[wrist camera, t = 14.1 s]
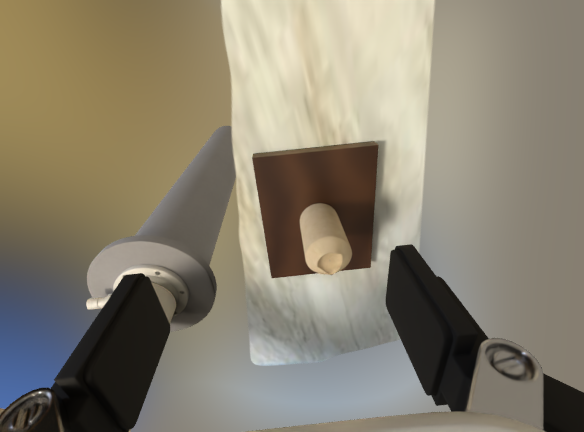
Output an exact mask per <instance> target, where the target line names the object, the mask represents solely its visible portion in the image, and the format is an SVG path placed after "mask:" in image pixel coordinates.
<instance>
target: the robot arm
mask: <svg viewBox="0 0 584 432" xmlns="http://www.w3.org/2000/svg"><path fill="white" fill-rule="evenodd" d="M188 299H189V291H188V288H187V286H186V284H185V282H184V281H183V280H182V279H181V278H180V277H179V276H178V275H177V274H176V273H174V272H172V271H170V270H168V269H166V268H163V267H160V266H156V265H137V266H133V267H130V268H127V269H126V270H124V271H123V272H122V273H121V274H120V275H119V276H118V277H117V279H116V280H115V283H114V285H113V293H112V294H108V295H107V296H106V297H94V298H89V299H88V301H87V304H86V305H87V308H88V309H99V308H102V310H101V311H100V313H99V314H98V316H97V317H96V319H95V320H94V322H93V323H92V325H91V326H90V328H89V329H88V330H87V332H86V333H85V335H84V336H83V338H82V339H81V341H80V342H79V344H78V345H77V347H76V348H75V350H74V351H73V353H72V354H71V356H70V357H69V359H68V360H67V362H66V363H65V365H64V366H63V368H62V369H61V371H60V372H59V373H58V375H57V377H56V378H55V379H54V380H55V383H54V384H53V386H52V387H51V389H50V388H39V389H36V390H32V391H30V392H28V393H26V394H25V395H22V396H21V397H20V398H18V399H17V400H15V401H14V402H13V403H11V404H10V405H9V406H8V407H7V408H6V409H1V408H0V432H130V431H131V429H132V428H133V427H134V426H135V424H136V422H137V419H138V417H139V414H140V411H141V409H142V406H143V403H144V401H145V398H146V395H147V392H148V389H149V387H150V384H151V382H152V379H153V376H154V373H155V371H156V368H157V366H158V363H159V360H160V357H161V354H162V352H163V349H164V347H165V344H166V341H167V339H168V336H169V333H170V322H171V320H172V317H174V316H176V315H178V314H179V313H181V312H182V311H183V310H184V308H185V307H186V305H187V302H188ZM386 307H387V310H388V312H389V314H390V316H391V319H392V321H393V323H394V325H395V327H396V330H397V332H398V334H399V336H400V338H401V341H402V343H403V345H404V347H405V349H406V352H407V354H408V356H409V358H410V360H411V363H412V365H413V367H414V369H415V371H416V374H417V376H418V378H419V380H420V383H421V384H422V387H423V389H424V391H425V393H426V394H427V395H432V397H433V400H434V401H435V404H436V405H437V406H438V405H447V404H448V406H449V408H450V410H451V412H431V413H420V414H408V415H397V416H385V417H376V418H367V419H357V420H348V421H338V422H329V423H319V424H311V425H301V426H293V427H283V428H274V429H265V430H256V431H247V432H584V393H583V392H581V391H579V390H577V389H575V388H573V387H571V386H568V385H566V384H564V383H562V382H560V381H558V380H556V379H554V378H552V377H550V376H547V375H545V374H543V371H542V367H541V366H540V364H539V362H538V361H537V359H536V358H535V357H534V356H533V355H532V354H531V353H530V352H529V351H527V350H526V349H524V348H523V347H522V346H520V345H518V344H516V343H514V342H512V341H509V340H505V339H500V338H491V339H488V337H487V336H486V335H485V333H484V332H483V331H482V329H481V328H480V327H479V325H478V324H477V323H476V322H475V320H474V319H473V318H472V316H471V315H470V314H469V312H468V311H467V310H466V308H465V307H464V306H463V305H462V303H461V302H460V301H459V299H458V298H457V297H456V295H455V294H454V293H453V291H452V290H451V289H450V287H449V286H448V285H447V284H446V282H445V281H444V280H443V279H442V278H441V277H436V275H435V274H434V273H433V271H432V270H431V269H430V267H429V266H428V265H427V264H426V262H425V261H424V259H423V258H422V257H421V255H420V254H419V253H418V251H417V250H416V249H415V247H414V246H413V245H402V246H396V248H395V250H392V251H391V255H390V264H389V273H388V283H387V292H386Z"/></svg>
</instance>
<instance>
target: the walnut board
mask: <svg viewBox="0 0 584 432" xmlns="http://www.w3.org/2000/svg"><path fill="white" fill-rule="evenodd" d="M252 159H253V165H254V171H255V178H256V184H257V190H258V196H259V202H260V208H261V215H262V221H263V227H264V233H265V239H266V246H267V252H268V258H269V264H270V270H271V276H272V278H278V277H287V276H297V275H306V274H315V273H317V272H314V271H313V270H311V269H310V268H309V267H308V265H307V263H306V260H305V254H304V247H303V241H302V235H301V229H300V217H301V214H302V212H303V211H304V210H305V209H306V208H307V207H309V206H311V205H313V204H317V203H323V204H327V205H329V206H331V207H332V208H333V209H334V210H335V211H336V213H337V215H338V217H339V220H340V222H341V225H342V227H343V230H344V232H345V234H346V237H347V239H348V242H349V244H350V247H351V250H352V257H351V260H350V262H349V264H348V265H347V266H346V267H345V268H344V269H342V270H341V271H343V270H353V269H362V268H370V267H371V252H372V236H373V221H374V205H375V190H376V174H377V159H378V144H377V143H375V142H374V141H372V142H363V143H353V144H344V145H334V146H324V147H315V148H305V149H295V150H286V151H276V152H266V153H257V154H253V158H252Z"/></svg>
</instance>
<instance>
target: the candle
mask: <svg viewBox="0 0 584 432" xmlns="http://www.w3.org/2000/svg"><path fill="white" fill-rule="evenodd" d="M300 229H301V235H302V241H303V247H304V254H305V260H306V263H307V265H308V267H309V268H310V269H311V270H313V271H314V272H317V273H320V274H329V275H332V274H334V273H336V272H339V271H341V270H342V269H344V268H345V267H346V266H347V265H348V264H349V262H350V260H351V257H352V250H351V247H350V244H349V242H348V239H347V237H346V234H345V232H344V230H343V227H342V225H341V222H340V220H339V217H338V215H337V213H336V211H335V210H334V209H333V208H332V207H331V206H329V205H327V204H323V203H317V204H313V205H311V206H309V207H307V208H306V209H305V210H304V211H303V212H302V214H301V217H300Z"/></svg>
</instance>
